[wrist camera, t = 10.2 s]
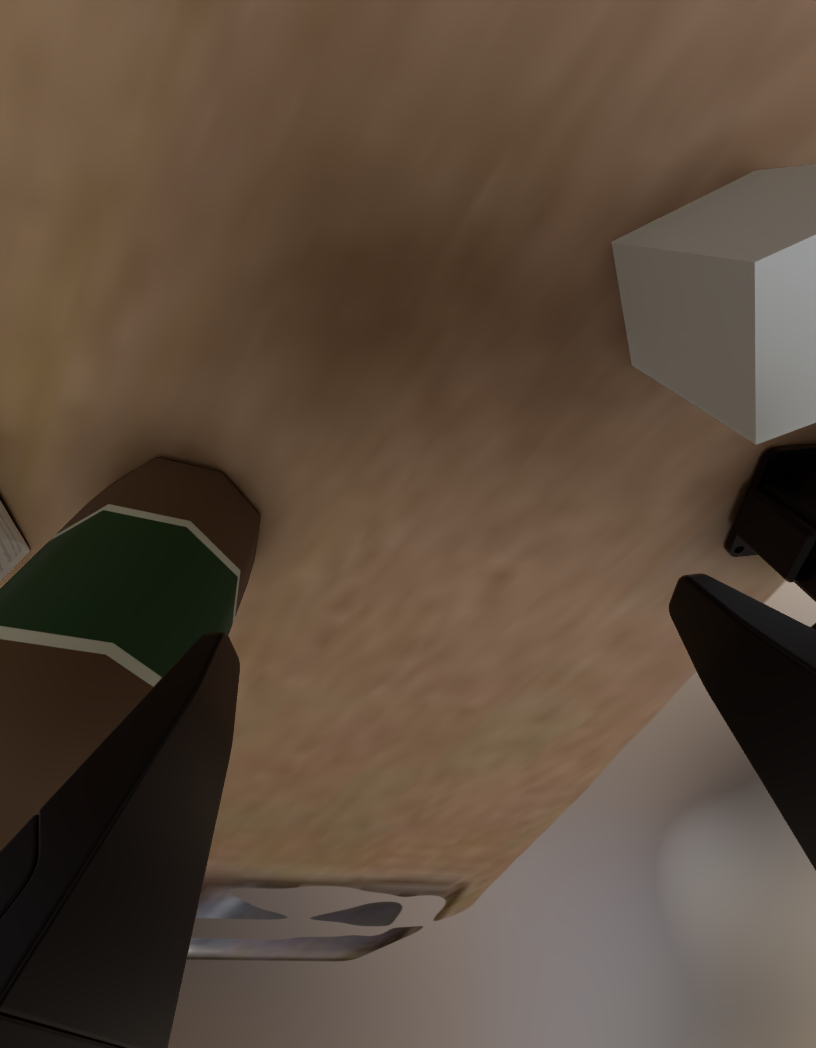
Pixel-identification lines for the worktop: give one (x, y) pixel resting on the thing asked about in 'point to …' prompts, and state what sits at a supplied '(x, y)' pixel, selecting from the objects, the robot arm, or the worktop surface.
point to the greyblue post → (730, 301)
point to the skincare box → (10, 544)
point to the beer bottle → (112, 618)
